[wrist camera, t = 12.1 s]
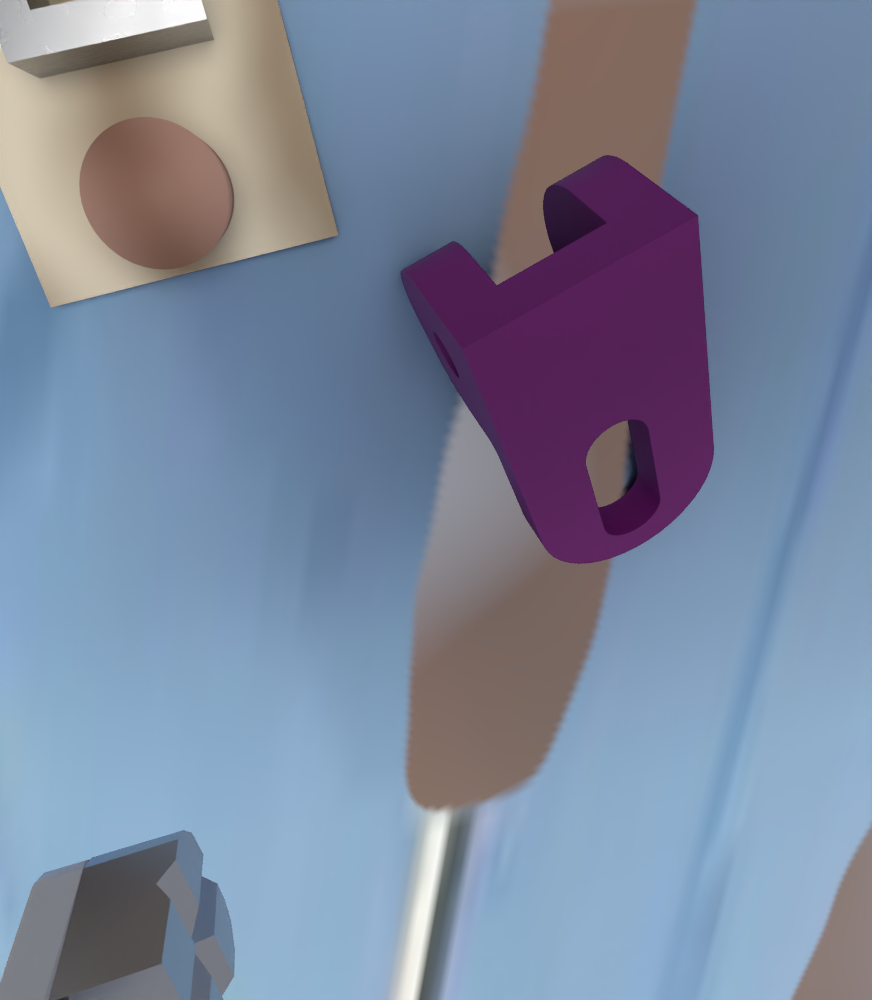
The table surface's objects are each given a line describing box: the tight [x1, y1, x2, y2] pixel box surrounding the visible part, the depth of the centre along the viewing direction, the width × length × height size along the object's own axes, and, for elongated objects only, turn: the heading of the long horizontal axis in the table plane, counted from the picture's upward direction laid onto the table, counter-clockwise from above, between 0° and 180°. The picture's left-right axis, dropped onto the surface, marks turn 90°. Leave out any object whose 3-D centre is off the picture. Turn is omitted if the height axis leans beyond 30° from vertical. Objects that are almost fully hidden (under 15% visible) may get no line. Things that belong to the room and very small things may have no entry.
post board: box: [0, 0, 338, 307], centre depth 27 cm, size 12×14×7 cm
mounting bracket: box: [401, 155, 714, 564], centre depth 37 cm, size 10×8×18 cm
